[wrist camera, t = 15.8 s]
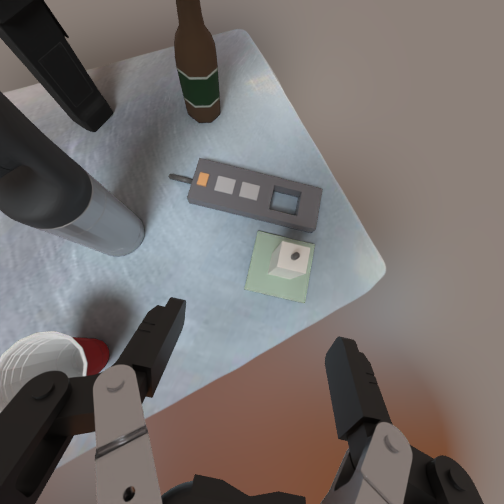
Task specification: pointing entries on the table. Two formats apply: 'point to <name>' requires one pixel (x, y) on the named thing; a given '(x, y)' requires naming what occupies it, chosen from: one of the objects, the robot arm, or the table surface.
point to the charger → (289, 260)
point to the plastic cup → (48, 360)
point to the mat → (273, 284)
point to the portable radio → (52, 60)
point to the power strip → (251, 194)
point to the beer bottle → (196, 63)
